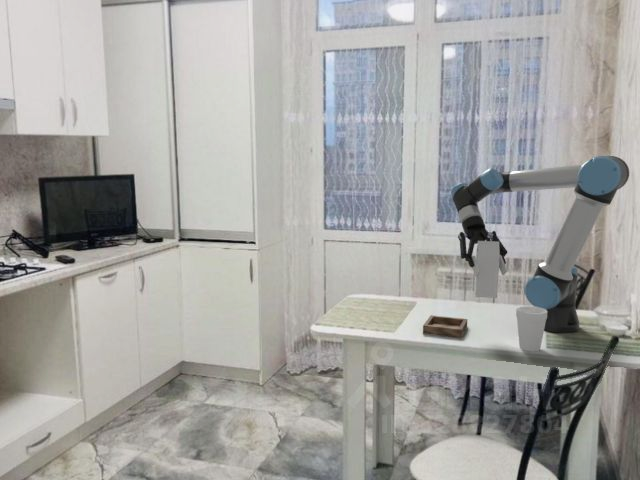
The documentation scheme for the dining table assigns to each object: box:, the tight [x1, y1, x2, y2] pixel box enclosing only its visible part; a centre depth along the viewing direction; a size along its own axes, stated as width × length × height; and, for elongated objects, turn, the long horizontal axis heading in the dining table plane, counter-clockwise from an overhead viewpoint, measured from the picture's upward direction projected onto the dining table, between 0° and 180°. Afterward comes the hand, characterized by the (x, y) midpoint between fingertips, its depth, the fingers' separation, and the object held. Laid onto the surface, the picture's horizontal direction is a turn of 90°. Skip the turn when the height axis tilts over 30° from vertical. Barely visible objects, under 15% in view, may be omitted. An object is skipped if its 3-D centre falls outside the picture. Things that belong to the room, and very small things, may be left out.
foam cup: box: [515, 305, 547, 353], centre depth 190 cm, size 10×9×13 cm
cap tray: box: [422, 314, 468, 339], centre depth 210 cm, size 13×13×3 cm
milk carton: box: [474, 240, 500, 299], centre depth 201 cm, size 7×7×19 cm
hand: (491, 273), depth 198 cm, fingers closed on milk carton, 9 cm apart
